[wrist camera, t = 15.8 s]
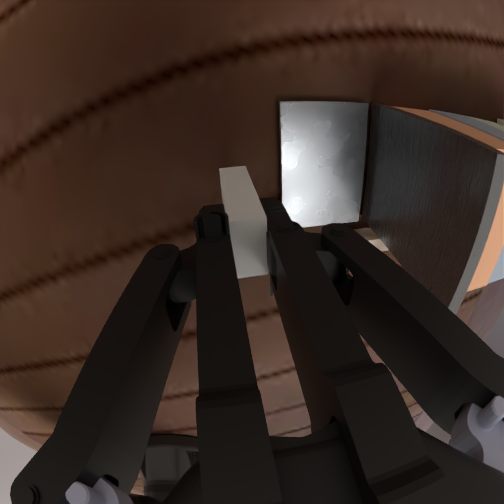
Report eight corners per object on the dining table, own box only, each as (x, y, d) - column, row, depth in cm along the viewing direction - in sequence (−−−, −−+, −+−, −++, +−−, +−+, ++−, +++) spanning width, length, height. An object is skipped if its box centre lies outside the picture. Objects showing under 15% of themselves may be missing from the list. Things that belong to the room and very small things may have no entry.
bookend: (281, 226, 22) (333, 349, 13) (278, 101, 17) (364, 144, 8) (372, 216, 23) (455, 315, 14) (383, 103, 18) (509, 155, 8)
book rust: (370, 216, 23) (441, 299, 15) (381, 105, 18) (486, 147, 10) (413, 212, 23) (486, 285, 15) (428, 110, 18) (528, 154, 10)
